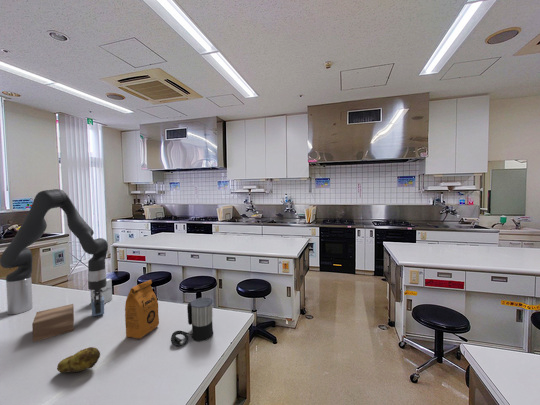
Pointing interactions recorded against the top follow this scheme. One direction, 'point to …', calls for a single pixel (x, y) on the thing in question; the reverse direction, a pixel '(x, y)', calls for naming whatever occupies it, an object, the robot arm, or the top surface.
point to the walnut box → (53, 322)
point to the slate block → (101, 307)
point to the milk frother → (197, 322)
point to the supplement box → (105, 291)
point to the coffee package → (141, 310)
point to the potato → (79, 360)
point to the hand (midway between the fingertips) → (98, 310)
